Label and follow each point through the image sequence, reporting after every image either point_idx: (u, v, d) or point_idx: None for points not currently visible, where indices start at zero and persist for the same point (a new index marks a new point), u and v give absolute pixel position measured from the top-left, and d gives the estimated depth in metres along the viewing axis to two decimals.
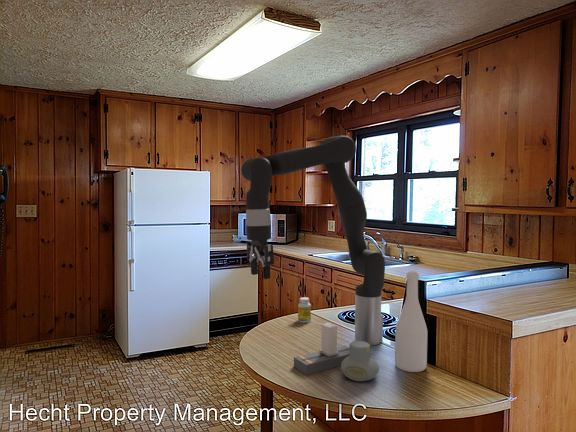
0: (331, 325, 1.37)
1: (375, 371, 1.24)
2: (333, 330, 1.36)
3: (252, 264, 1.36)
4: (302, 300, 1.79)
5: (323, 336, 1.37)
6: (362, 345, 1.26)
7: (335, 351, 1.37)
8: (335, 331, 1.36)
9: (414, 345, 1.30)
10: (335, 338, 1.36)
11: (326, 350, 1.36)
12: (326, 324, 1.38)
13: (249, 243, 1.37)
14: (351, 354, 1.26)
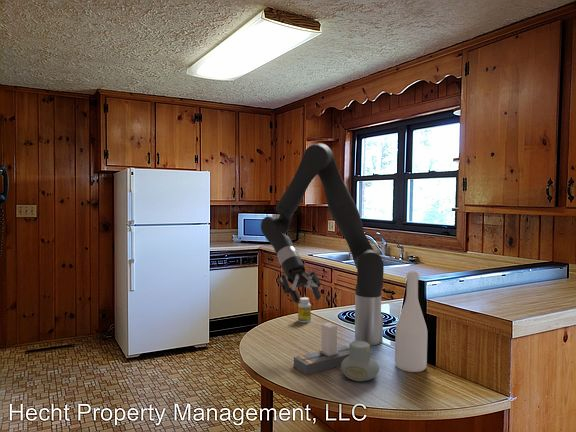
0: (331, 325, 1.37)
1: (375, 371, 1.24)
2: (333, 330, 1.36)
3: (313, 291, 1.51)
4: (302, 300, 1.79)
5: (323, 336, 1.37)
6: (362, 345, 1.26)
7: (335, 351, 1.37)
8: (335, 331, 1.36)
9: (414, 345, 1.30)
10: (335, 338, 1.36)
11: (326, 350, 1.36)
12: (326, 324, 1.38)
13: None
14: (351, 354, 1.26)
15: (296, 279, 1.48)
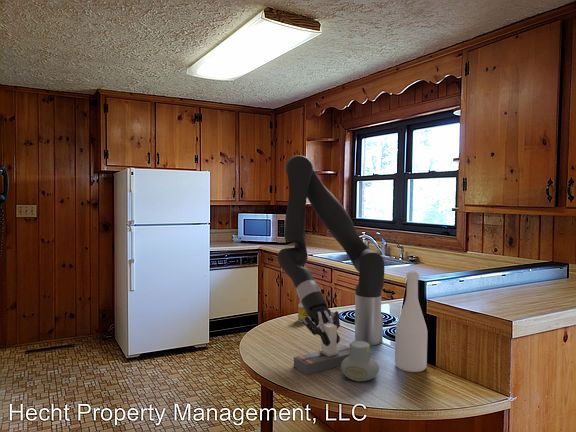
0: (331, 325, 1.37)
1: (375, 371, 1.24)
2: (333, 330, 1.36)
3: None
4: None
5: None
6: (362, 345, 1.26)
7: (335, 351, 1.36)
8: (335, 331, 1.36)
9: (414, 345, 1.30)
10: (335, 338, 1.36)
11: (326, 350, 1.36)
12: (326, 324, 1.38)
13: None
14: (351, 354, 1.26)
15: (320, 318, 1.38)
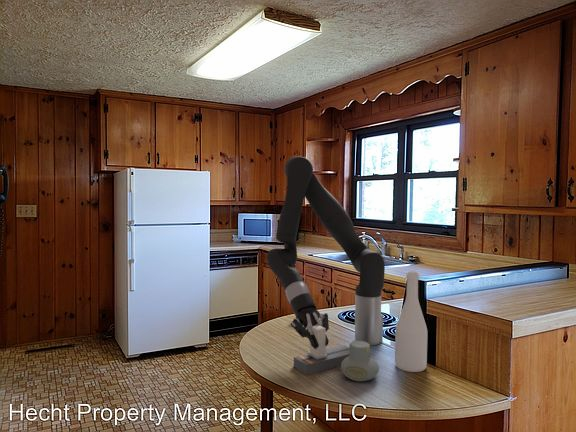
0: (320, 327, 1.34)
1: (375, 371, 1.24)
2: (322, 332, 1.33)
3: None
4: None
5: None
6: (362, 345, 1.26)
7: (324, 354, 1.34)
8: (324, 333, 1.34)
9: (414, 345, 1.30)
10: (324, 341, 1.34)
11: (314, 353, 1.34)
12: (315, 326, 1.35)
13: None
14: (351, 354, 1.26)
15: (309, 320, 1.36)
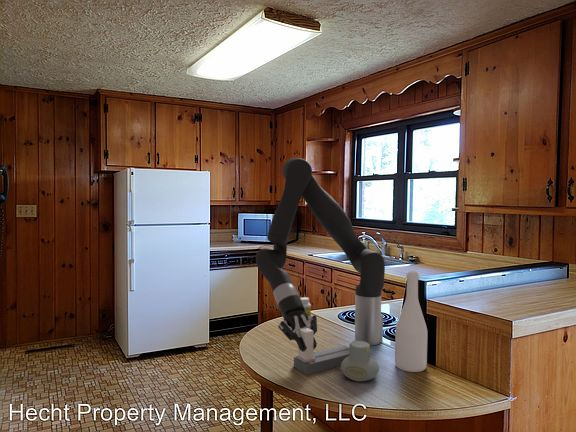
0: (307, 330, 1.32)
1: (375, 371, 1.24)
2: (310, 335, 1.31)
3: None
4: (302, 300, 1.79)
5: None
6: (362, 345, 1.26)
7: (312, 357, 1.32)
8: (311, 336, 1.31)
9: (414, 345, 1.30)
10: (311, 343, 1.31)
11: (302, 356, 1.32)
12: (302, 329, 1.33)
13: None
14: (351, 354, 1.26)
15: (297, 322, 1.34)
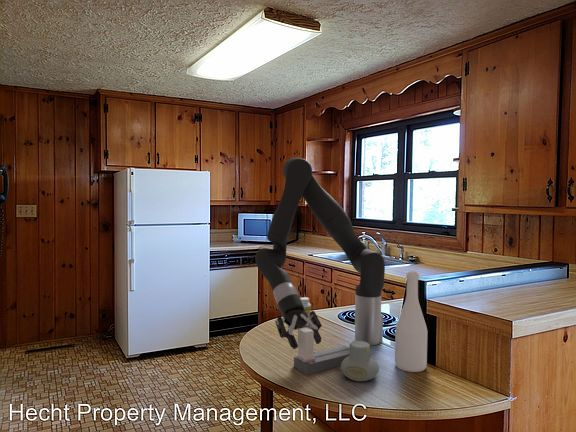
0: (307, 330, 1.32)
1: (375, 371, 1.24)
2: (310, 335, 1.31)
3: None
4: (302, 300, 1.79)
5: (299, 341, 1.33)
6: (362, 345, 1.26)
7: (312, 357, 1.32)
8: (311, 336, 1.31)
9: (414, 345, 1.30)
10: (311, 343, 1.31)
11: (302, 356, 1.32)
12: (302, 329, 1.33)
13: None
14: (351, 354, 1.26)
15: (294, 321, 1.34)
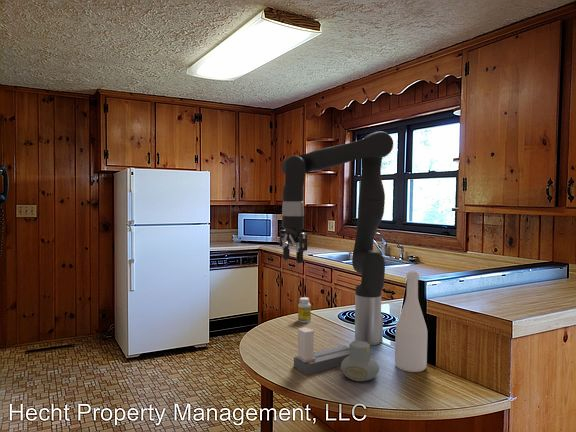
0: (307, 330, 1.32)
1: (375, 371, 1.24)
2: (310, 335, 1.31)
3: (285, 250, 1.53)
4: (302, 300, 1.79)
5: (299, 341, 1.33)
6: (362, 345, 1.26)
7: (312, 357, 1.32)
8: (311, 336, 1.31)
9: (414, 345, 1.30)
10: (311, 343, 1.31)
11: (302, 356, 1.32)
12: (302, 329, 1.33)
13: (282, 231, 1.54)
14: (351, 354, 1.26)
15: None
